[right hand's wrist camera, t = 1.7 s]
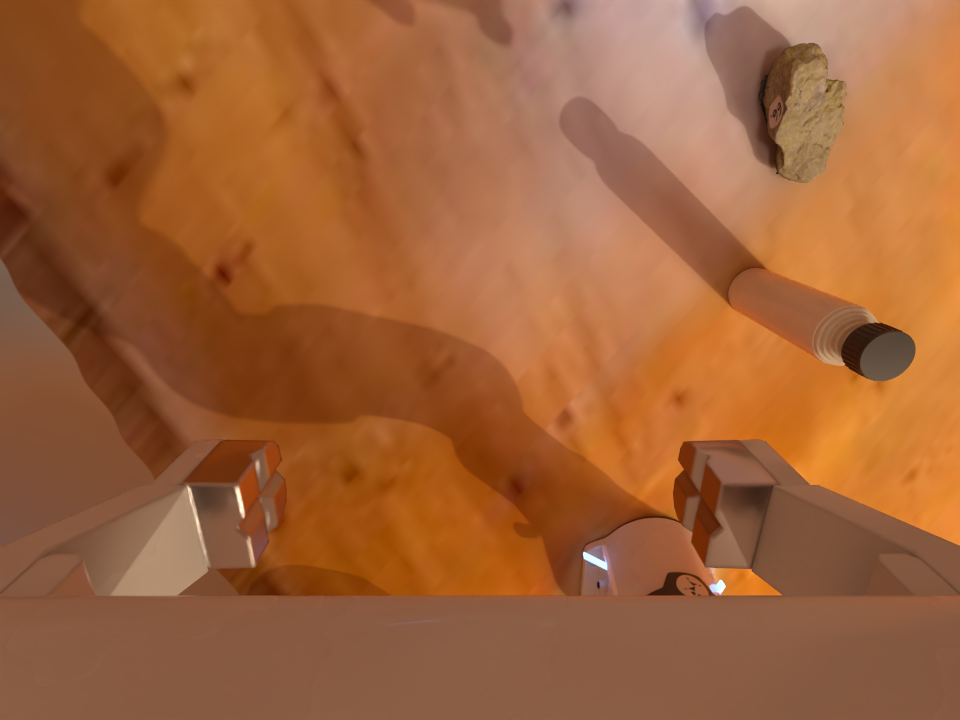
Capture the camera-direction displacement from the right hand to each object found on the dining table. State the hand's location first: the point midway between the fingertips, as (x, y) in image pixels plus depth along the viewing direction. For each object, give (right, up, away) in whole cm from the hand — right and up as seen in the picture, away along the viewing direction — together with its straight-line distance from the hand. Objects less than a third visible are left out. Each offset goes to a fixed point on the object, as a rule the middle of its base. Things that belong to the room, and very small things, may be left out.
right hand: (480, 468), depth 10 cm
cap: (+31, +3, +29) cm, 42 cm away
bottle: (+31, +10, +48) cm, 58 cm away
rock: (+31, +27, +41) cm, 58 cm away
